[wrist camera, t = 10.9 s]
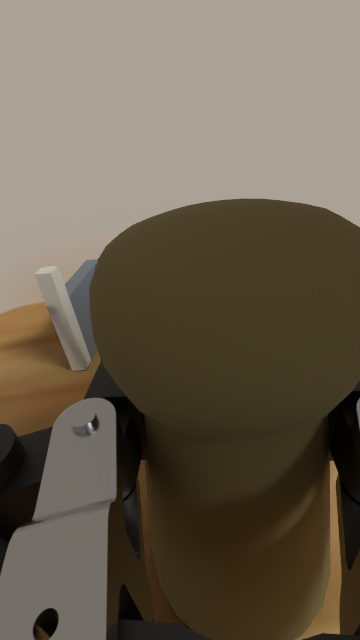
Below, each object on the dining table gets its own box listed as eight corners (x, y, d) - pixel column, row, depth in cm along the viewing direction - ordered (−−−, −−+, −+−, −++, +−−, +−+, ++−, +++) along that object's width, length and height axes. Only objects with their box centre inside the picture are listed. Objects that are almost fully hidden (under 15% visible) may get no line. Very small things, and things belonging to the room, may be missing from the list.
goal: (348, 300, 24) (367, 207, 20) (395, 358, 18) (434, 242, 14) (102, 315, 26) (78, 234, 23) (72, 370, 20) (33, 274, 17)
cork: (167, 450, 14) (110, 193, 8) (307, 457, 13) (357, 168, 7) (131, 636, 9) (-83, 306, 3) (358, 673, 8) (674, 276, 2)
